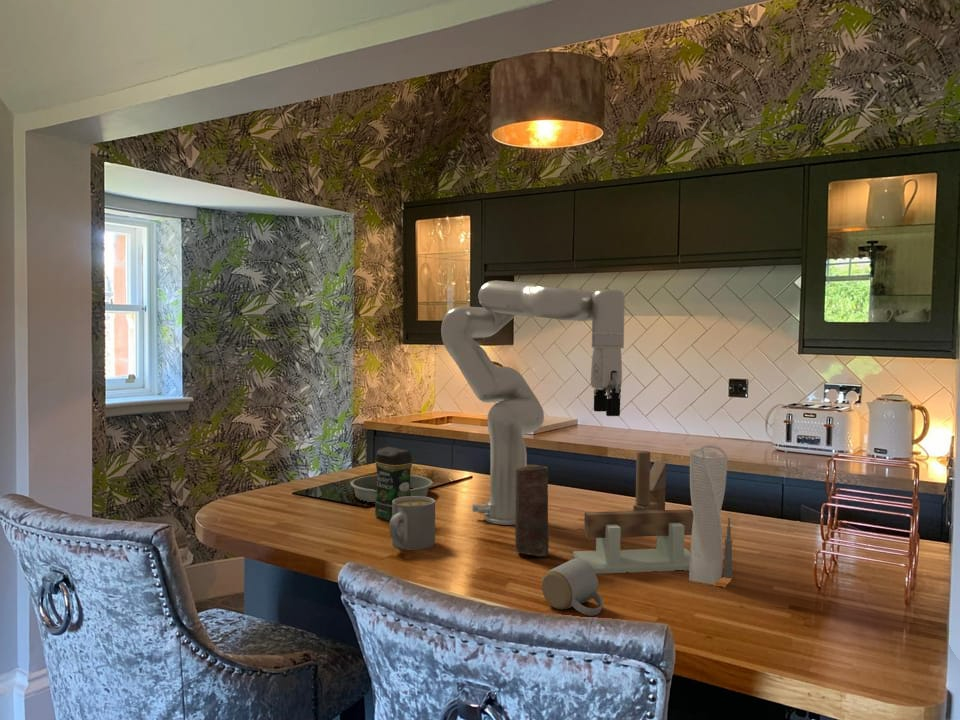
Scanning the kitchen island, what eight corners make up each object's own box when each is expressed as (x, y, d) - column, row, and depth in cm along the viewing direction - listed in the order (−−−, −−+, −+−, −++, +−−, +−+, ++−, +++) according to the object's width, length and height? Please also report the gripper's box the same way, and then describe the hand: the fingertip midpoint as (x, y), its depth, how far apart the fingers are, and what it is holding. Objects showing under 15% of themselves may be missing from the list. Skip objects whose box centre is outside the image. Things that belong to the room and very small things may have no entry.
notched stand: (588, 573, 148) (589, 530, 147) (572, 555, 159) (573, 515, 159) (708, 569, 151) (709, 527, 151) (684, 552, 163) (685, 512, 163)
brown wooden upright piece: (665, 514, 198) (666, 449, 197) (644, 520, 190) (645, 453, 189) (653, 511, 200) (655, 447, 200) (632, 518, 193) (633, 451, 192)
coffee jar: (369, 517, 191) (370, 447, 190) (392, 511, 197) (392, 444, 196) (394, 523, 185) (394, 451, 184) (416, 518, 190) (417, 448, 190)
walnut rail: (587, 538, 152) (587, 514, 152) (584, 535, 155) (584, 512, 154) (694, 535, 156) (695, 512, 155) (690, 531, 158) (690, 509, 158)
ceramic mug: (537, 604, 131) (539, 563, 130) (565, 593, 136) (566, 553, 136) (585, 622, 123) (586, 578, 123) (612, 610, 129) (613, 567, 129)
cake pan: (429, 506, 204) (429, 491, 204) (342, 505, 204) (342, 489, 204) (435, 488, 229) (435, 474, 228) (358, 487, 229) (358, 473, 229)
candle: (525, 561, 155) (526, 469, 154) (508, 552, 162) (509, 463, 161) (554, 556, 159) (556, 466, 158) (537, 547, 165) (538, 461, 164)
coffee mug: (414, 534, 175) (414, 494, 174) (443, 543, 168) (444, 500, 168) (371, 546, 165) (372, 503, 164) (401, 556, 158) (401, 511, 158)
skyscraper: (723, 591, 139) (726, 448, 138) (681, 583, 143) (684, 444, 142) (733, 579, 146) (736, 442, 145) (693, 572, 150) (696, 439, 149)
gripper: (582, 341, 179) (581, 409, 180) (603, 342, 162) (602, 418, 163) (611, 341, 180) (610, 409, 181) (635, 342, 163) (634, 417, 164)
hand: (606, 413), depth 172 cm, fingers open, 9 cm apart
